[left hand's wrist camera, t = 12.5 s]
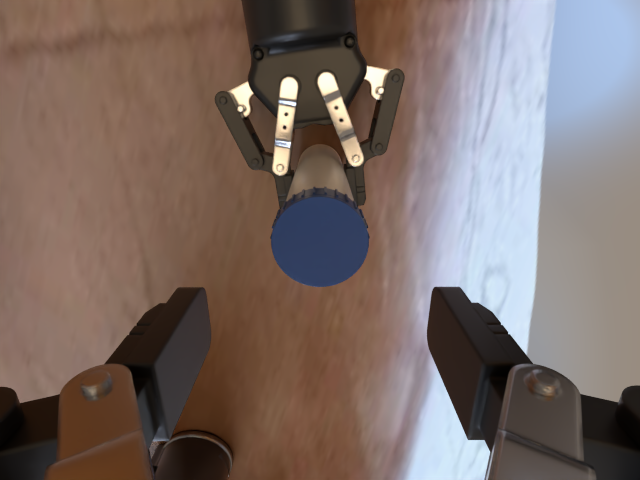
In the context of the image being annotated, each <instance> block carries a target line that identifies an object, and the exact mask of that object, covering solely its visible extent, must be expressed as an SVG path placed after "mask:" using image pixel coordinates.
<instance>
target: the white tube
mask: <svg viewBox="0 0 640 480" xmlns="http://www.w3.org/2000/svg"><path fill="white" fill-rule="evenodd" d="M313 187H315V188H324V187H327V188H328V189H332V190H335V189H337V190H338V192H340V193H342V194H344V195H345V194H347V195H348V197H349V198H350V199H351V200H352V201H354V199H353V196H352V193H351V190H350V187H349V184H348V180H347V177H346V174H345V171H344V168H343V165H342V162H341V159H340V156H339V154H338V153H337V152H336V151H335V150H334V149H333V148H332V147H330V146H328V145H325V144H315V145H312V146H310V147H308V148H307V149H306V150H305V151H304V152H303V153H302V154H301V156H300V159H299V162H298V165H297V168H296V171H295V174H294V177H293V181H292V184H291V187H290V190H289V193H288V196H287V199H286V201H288V200H289V199H290V198H292V195H293V194H295V195H296V194H298V193H300V192H302V190H303V189H305V190H308V189H313Z"/></svg>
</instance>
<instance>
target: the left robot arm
mask: <svg viewBox="0 0 640 480" xmlns="http://www.w3.org/2000/svg"><path fill="white" fill-rule="evenodd" d="M427 341H428V346H429V350H430V352H431V355H432V357H433V359H434V362H435V364H436V366H437V369H438V371H439V373H440V376H441V378H442V380H443V383H444V385H445V387H446V390H447V392H448V394H449V397H450V399H451V401H452V404H453V406H454V408H455V411H456V413H457V415H458V418H459V420H460V422H461V425H462V427H463V429H464V432H465V434H466V436H467V439H468V440H485V442H486V444H487V446H488V448H489V450H490V456H489V460H488V465H487V470H486V475H485V479H484V480H640V386H630V387H627V388H625V389H624V390H623V392H622V395H621V397H620V400H619V402H613V401H609V400H604V399H600V398H595V397H591V396H586V395H582V394H580V393H579V390H578V389H577V387H576V386H575V385H574V384H573V383H572V382H571V381H570V380H569V379H568V378H566V377H565V376H564V375H562V374H560V373H558V372H557V371H555V370H552V369H550V368H547V367H544V366H540V365H536V364H533V363H532V362H531V361H530V359H529V358H528V357H527V355H526V354H525V353H524V352H523V350H522V349H521V348H520V347H519V345H518V344H517V343H516V342H515V340H514V339H513V338H512V337H511V335H510V334H508V331H507V330H506V329H505V328H504V326H503V325H501V323H500V321H499V320H498V319H497V318H496V316H495V315H494V314H493V313H492V312H491V311H490V310H488V309H487V308H485V307H484V306H482V305H481V304H479V303H471V301H470V300H469V299H468V297H467V296H466V294H465V293H464V292H463V290H462V289H461V288H460V287H434V288H433V291H432V295H431V303H430V311H429V319H428V327H427ZM210 342H211V327H210V319H209V311H208V303H207V296H206V291H205V289H204V288H203V287H179V288H177V289H176V291H175V292H174V293H173V295H172V296H171V297H170V299H169V300H168V301H167V303H160V304H158V305H157V306H155V307H153V308H152V309H150V310H149V311H147V312H146V313H145V314H144V315H143V316H142V318H141V319H140V320H139V321H138V323H137V326H134V328H133V329H132V330H131V331H130V333H129V335H127V336H126V338H125V339H124V340H123V341H122V343H121V344H120V345H119V346H118V348H117V349H116V350H115V351H114V353H113V354H112V355H111V356H110V358H109V359H108V360H107V361H106V363H105V364H104V365H99V366H96V367H93V368H90V369H88V370H85V371H83V372H82V373H80V374H78V375H76V376H75V377H74V378H72V379H71V380H70V381H69V382H68V383H67V384H66V385H65V386H64V387H63V389H62V390H61V393H60V394H59V395H55V396H51V397H46V398H42V399H37V400H33V401H28V402H24V403H20V402H19V400H18V397H17V394H16V392H15V391H14V390H13V389H11V388H8V387H0V480H228V479H229V475H230V471H231V468H232V464H233V455H232V452H231V450H230V448H229V447H228V445H227V444H226V443H225V442H224V441H222V440H221V439H219V438H218V437H216V436H214V435H212V434H209V433H205V432H200V431H187V432H182V433H179V434H176V435H174V436H172V434H173V431H174V429H175V427H176V424H177V422H178V420H179V417H180V415H181V413H182V411H183V408H184V406H185V404H186V401H187V399H188V397H189V394H190V392H191V390H192V388H193V385H194V383H195V381H196V378H197V376H198V374H199V371H200V369H201V367H202V365H203V362H204V360H205V358H206V355H207V353H208V351H209V347H210ZM171 436H172V437H171ZM152 441H166V443H165V444H163V445H158V446H157V448H156V450H155V453H154V455H153V457H152V459H151V456H150V452H149V447H150V445H151V443H152Z"/></svg>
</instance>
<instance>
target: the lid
mask: <svg viewBox="0 0 640 480" xmlns="http://www.w3.org/2000/svg"><path fill="white" fill-rule="evenodd" d="M276 218H277V219H275V220H274V223H273V226H272V228H273V232H272V234H271V245H272V251H273V255H274V258H275V260H276V262H277V264H278V265H279V267H280V268H281V269H282V270H283V271H284V272H285V273H286V274H287V275H288V276H289V277H290V278H292V279H294V280H295V281H297V282H299V283H302V284H305V285H309V286H315V287H326V286H332V285H335V284H338V283H341V282H343V281H345V280H347V279H348V278H350V277H351V276H352V275H353V274H354V273H356V272H357V270H358V269H359V268H360V267H361V265H362V264H363V262H364V260H365V258H366V255H367V252H368V246H369V234H368V231H367V228H368V225H367V223H366V220H365V218H364V216H363V213H362V210H361V209H359V208H358V207H357V205H356V202H355V201H352V200H351V199H350V198H349V197H348V195H347V194H345V195H344V194H342V193H340V192H338V190H337V189H335V190H332V189H328V188H327V187H324V188H315V187H313V189H308V190H305V189H303V190H302V192H300V193H298V194H296V195H295V194H293V195H292V198H290V199H289V200H288V201H285V202H284V205H283V207H282V208H281V210H280V209H279V210H278V213H277V216H276ZM363 218H364V219H363Z"/></svg>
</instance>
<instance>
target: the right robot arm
mask: <svg viewBox="0 0 640 480" xmlns="http://www.w3.org/2000/svg"><path fill="white" fill-rule="evenodd" d="M242 5H243V11H244V17H245V23H246V29H247V35H248V40H249V46H250V52H251V68H250V72H249V75H248V81H247V82H245V83H244V84H242V85H240V86H238V87H236V88H234V89H232V90H230V91H221V92H218V93H217V94H216V96H215V103H216V105H217V107H218V109H219V111H220V113H221V114H222V116H223V118H224V120H225V122H226V124H227V126H228V128H229V130H230V132H231V134H232V135H233V137H234V139H235V141H236V143H237V145H238V147H239V149H240V151H241V153H242V154H243V156H244V158H245V160H246V162H247V164H248V166H249V167H250V168H251V169H253V170H258V169H259V170H264V171H268V172H270V173H271V174H272V175H273V176H274V178H275V182H276V188H277V194H278V200H279V206H280V209H281V208H282V207H283V205H284V202H285V201H286V199H287V196H288V193H289V190H290V187H291V184H292V181H293V177H294V170H291V166H290V163H291V155H292V148H293V141H294V135H295V129H298V128H304V127H306V126H308V125H311V124H319V125H330V124H334V127H335V129H336V132H337V134H338V137H339V139H340V142H341V145H342V147H343V150H344V152H345V156H346V164H344V171H345V174H346V177H347V180H348V184H349V187H350V190H351V193H352V196H353V199H354V201H355V202H356V205H357V207H358V206H359V205H364V203H365V199H366V195H365V183H364V170H363V168H364V164H365V162H366V161H367V160H368V159H370V158H372V157H374V156H376V155H382V154H384V153H385V152H386V150H387V147H388V143H389V139H390V135H391V131H392V126H393V122H394V118H395V114H396V110H397V106H398V102H399V98H400V94H401V90H402V86H403V82H404V73H403V72H402V71H401V70H400V69H391V70H387V69H382V68H378V67H373V66H368V65H367V63H366V60H365V59H364V57H363V55H362V54H361V52H360V49H359V46H358V40H357V27H356V13H355V0H242ZM363 80H366V81H367V82H368V83H369V86H370V95H371V97H372V98H374V99H377V102H376V106H375V110H374V115H373V119H372V123H371V128H370V132H369V137H368V139H366V140H364V141H362V142H360V143H359V142H358V140H357V137H356V134H355V131H354V128H353V126H352V123H351V120H350V118H349V115H348V112H347V110H348V108H349V106H350V104H351V102H352V100H353V99H354V97H355V95H356V93H357V91H358V89H359V88H360V86H361V84H362V82H363ZM254 94H255V95H256V97H257V98H258V99H259V100H260V101H261V102H262V103H263V104H264V105H265V106H266V107H267V108H268V109H269V111H270V112H271V113H272V114H273V115H274V116H275V117H276V118H277V123H276V132H275V147H274V153H269V152H265V150H264V148H263V146H262V144H261V142H260V140H259V138H258V136H257V134H256V132H255V130H254V128H253V126H252V124H251V122H250V120H249V118H248V116H249V115H250V114H251V113H252V110H253V108H252V104H251V99H252V97H253V95H254Z"/></svg>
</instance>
